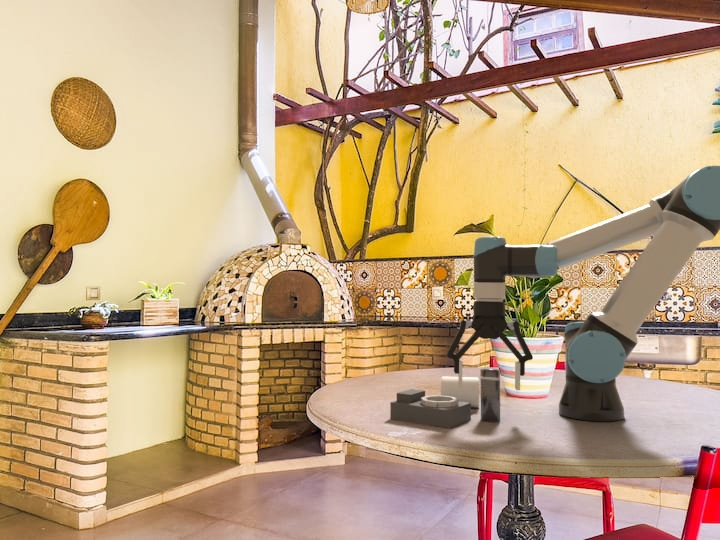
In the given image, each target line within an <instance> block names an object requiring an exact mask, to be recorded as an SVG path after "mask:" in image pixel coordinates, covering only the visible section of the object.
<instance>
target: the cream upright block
mask: <svg viewBox="0 0 720 540" xmlns="http://www.w3.org/2000/svg"><path fill="white" fill-rule="evenodd" d="M440 378H441V379H440V395H441V396H442V395H443V396H451V397H455V398H457V399H458V401H460V402H468V403H471V409H478V408H480V377H474V376H472V377H470V376H462V388H459V387H458V376H441V377H440Z"/></svg>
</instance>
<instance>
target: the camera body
mask: <svg viewBox="0 0 720 540" xmlns="http://www.w3.org/2000/svg"><path fill="white" fill-rule="evenodd" d="M389 404H390V420H395V421H396V420H397V421H401V422H408V423H415V424H420V425H426V426H431V427H432V426H433V427H439V428H444V429H451V428H454V427H457V426H458V425H461V424H463V423H466V422H468V421H470V420H472V417H471V416H472V413H471V412H472V408H471V403H468V402H460V401H458V399H457V398H455V397H451V396H443V395H442V396H441V394H440V395H437V394H436V395H426V390H422V389H413V388H410V389H408V390H403V391H399V392H396V400H394V401H390V403H389Z"/></svg>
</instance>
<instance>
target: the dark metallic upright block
mask: <svg viewBox="0 0 720 540" xmlns="http://www.w3.org/2000/svg"><path fill="white" fill-rule="evenodd" d="M479 372H480V377H479V380H480V420H481V421H482V422H486V423H487V422H488V423H499V422H501V370H500V369H498V368H492V367H491V368H490V367H488V368H487V367H486V368H481V369H480V371H479Z"/></svg>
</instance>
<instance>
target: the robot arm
mask: <svg viewBox="0 0 720 540" xmlns="http://www.w3.org/2000/svg"><path fill="white" fill-rule="evenodd" d="M719 231H720V165H708V166H707V165H706V166H703V167H701V168H698V169H696V170H694V171H692V172H691V173H690V174H688V175H687V177H686V178H685V179H683V180H682V181H681V182H680V183H678V185H675V187H673V188H672V189H670V190H668V191H666V192H665V193H662V194H661V195H659V196H655V197H654V198H651V199H650V200H649V202H648V204H646V205H644V206H642V207H641V206H640V207H639V208H636V209H634V210H633V209H632V210H631V211H628V212H625V213H623V214H620V215H618V216H615V217H613V218H609V219H607V220H604V221H601V222H599V223H597V224H594V225H591V226H588V227H586V228H583V229H580V230H577V231H575V232H572V233H570V234H567V235H565V236H562V237H559V238H556V239H554V240H552V241H548V242H545V243H542V244H523V245H522V244H521V245H520V244H519V245H518V244H517V245H513V244H512V245H511V244H507V242H506V238H505V237H503V236H480V237H477V238H476V239H475V241H474V250H473V252H474V253H473V298H474V300H475V301H474V302H473V319H472V320H465V319H461V320H460V324H459V328H458V331H457V333H456V335H455V336H454V339H453V341H452V342H451V344H450V346H449V348H448V350H447V352H446V357H448V358H450V359H452V360H453V372H454V374H455V375H458V376H457V377H458V387H459V388H462V377H463V359H462V357H463V356H464V355H465V353H467V351H468V350H470V348H471V347H472V345H473V344H474V343H475V342H476V341H477V340H479V338H480V339H483V340H488V339H491V340H497V339H500V341H502V342H503V343H504V345H506V348H508V350H509V351H511V353H512V354H513V355H514V356H515V358H516V359H517V360H518V361H514V362H515V363H514V373H515V374H514V388H515V390H516V391H521V376H525V373H526V371H525V370H526V367H525V366H526V362H527V361H532V360H533V358H534V356H533V355H532V352H531V350H530V348H529V346H528V344H527V342H526V340H525V339H524V336H523V334H522V332H521V331H520V324H519V323H520V322H519V321H517V320H512V321H506V302H505V301H504V300H505V299H506V277H527V278H528V279H532V280H533V279H538V278H546V277H555V276H556V275H557V274H558V271H559V270H561V269H565V268H566V267H567V268H568V267H570V266H572V265H575V264H578V263H581V262H583V261H586V260H589V259H592V258H595V257H597V256H601V255H603V254H606V253H609V252H612V251H614V250H617V249H621V248H623V247H626V246H628V245H632V244H634V243H637V242H639V241H642V240H645V239H648V238H651V237H652V238H651V239H650V241H649V242H648V244H647V245H646V247H645V248H644V249H643V251H642V252H641V253H640V255H639V256H638V258H637V260H635V262H634V263H633V265H632V266H631V268H629V270H628V272H627V273H626V275H625V276H624V278H623V279H622V280H621V282H620V283H619V285H618V286H617V287H616V289H615V290H614V292H613V293H612V295H611V296H610V297H609V299H608V300H607V301H606V303H605V304H604V306H603V307H602V309H601V310H600V311H596V312H591V313H590V314H589V315H588V316H587V318H586V319H585V321H575V322H568V323H567V324H566V325H565V327H564V328H565V329H564V333H563V336H564V345H565V347H564V350H565V353H564V355H565V358H564V359H565V384H564V388H563V390H562V393H561V396H560V400H559V403H558V413H559V414H560V415H561V416H564V417H566V418H571V419H575V420H581V421H590V422H591V421H592V422H615V421H616V422H617V421H621V420H623V419H624V418H625V408H624V405H623V402H622V399H621V397H620V395H619V392H618V388H617V383H616V382H617V381H616V378H617V377H619V375H620V374H621V373H622V372H623V370H624V368H625V366H626V360H627V358H628V357H629V356H630V355H631V353H632V351H633V350H634V349H635V347H636V346H637V344H639V341H638V336H637V331H639V329H640V328H641V326H642V325H643V324H644V322H645V321H646V320H647V318H648V316H650V313H651V312H653V310H654V308H655V306H657V304H658V302H659V301H660V300H661V298H662V297H663V296H664V294H665V293H666V292H667V290H668V289H669V287H670V286H671V285H672V284H673V282H674V281H675V279H677V276H678V275H679V274H680V272H681V271H682V269H683V268H684V267H685V265H686V264H687V263H688V262H689V260H690V259H691V257H692V256H693V254H694V253H695V251H696V250H697V249H698V248H699V246H700V245H701V244H702V243H703V242H707V241H711V240H713V239H715V237H716V236H717V234H718V233H719ZM470 327H472V328H473V330H474V332H473V334H472V335H471V336H470V337H469V338H468V340H467V341H466V342H465V343H464V344H463V345H462V346H461V347H460V349H459V350H457V352H456V353H455V351H456V349H457V347H458V346H459V343H460V341H461V339H462V338H463V336H464V333H465V331H466V330H468V329H469V328H470ZM507 327H508V328H509V329H510V330H511V331H513V334H514V336H515V338H516V340H517V342H518V343H519V346H520V348H521V350H522V352H523V354H524V355H522V353H520V351H519V350H518V349H517V347H515V345H514V343H512V342H511V340H510V339H509V338H508V337H507V335H506V334H505V333H504V331H505V330H506V329H507Z"/></svg>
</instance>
